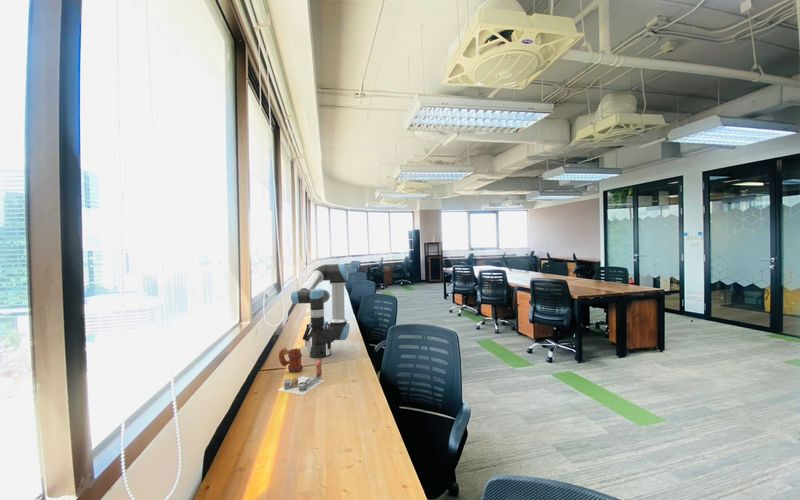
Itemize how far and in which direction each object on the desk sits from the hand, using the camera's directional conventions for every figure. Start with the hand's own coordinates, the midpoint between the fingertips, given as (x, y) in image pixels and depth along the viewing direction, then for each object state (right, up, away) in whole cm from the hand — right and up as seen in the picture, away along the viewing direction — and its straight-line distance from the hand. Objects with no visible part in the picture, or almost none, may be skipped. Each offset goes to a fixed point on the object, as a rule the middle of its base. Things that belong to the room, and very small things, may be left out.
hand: (318, 353), depth 185 cm
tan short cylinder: (-11, -16, -8) cm, 21 cm away
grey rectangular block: (-14, -16, -9) cm, 23 cm away
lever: (-3, -14, -6) cm, 16 cm away
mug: (-20, -17, +15) cm, 31 cm away
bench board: (-7, -17, -6) cm, 19 cm away
